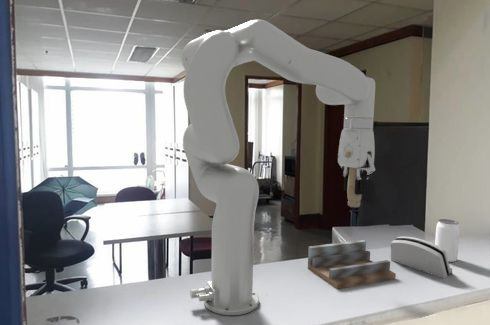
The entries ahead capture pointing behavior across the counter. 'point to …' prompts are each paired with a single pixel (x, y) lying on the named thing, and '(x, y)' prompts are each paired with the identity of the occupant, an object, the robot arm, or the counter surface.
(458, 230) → the can
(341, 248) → the track
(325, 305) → the counter surface
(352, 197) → the handle
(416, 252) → the grey curved slotted block
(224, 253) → the robot arm
